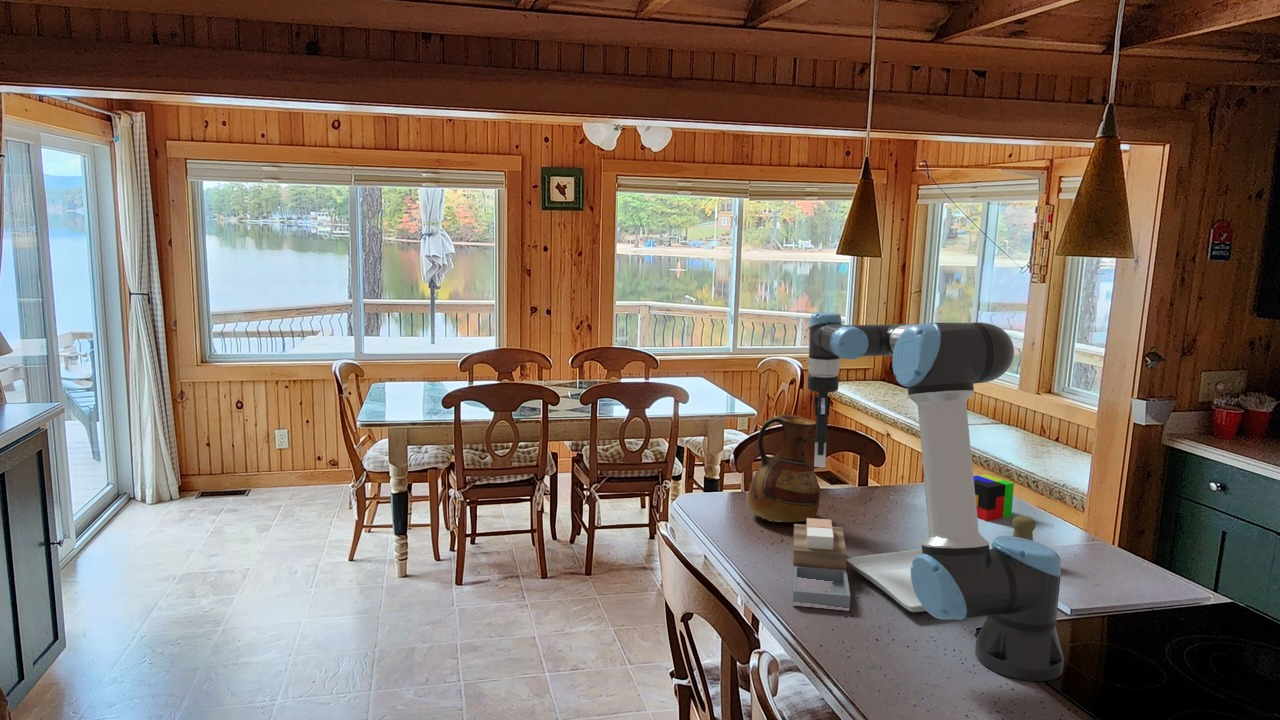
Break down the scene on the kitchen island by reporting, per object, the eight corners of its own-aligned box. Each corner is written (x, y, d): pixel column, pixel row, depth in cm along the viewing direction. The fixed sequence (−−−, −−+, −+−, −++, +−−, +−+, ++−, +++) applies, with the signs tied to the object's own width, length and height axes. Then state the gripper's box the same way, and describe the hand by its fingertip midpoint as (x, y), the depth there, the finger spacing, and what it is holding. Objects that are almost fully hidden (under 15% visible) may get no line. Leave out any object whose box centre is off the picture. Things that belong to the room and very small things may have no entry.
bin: (849, 611, 173) (850, 595, 172) (792, 606, 175) (793, 591, 175) (845, 584, 187) (846, 570, 186) (792, 580, 189) (793, 566, 188)
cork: (1037, 565, 198) (1040, 522, 197) (1011, 563, 199) (1014, 520, 198) (1030, 555, 204) (1034, 514, 203) (1005, 554, 205) (1008, 512, 204)
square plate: (908, 623, 169) (909, 605, 168) (842, 571, 195) (843, 556, 194) (1017, 608, 176) (1019, 591, 175) (940, 560, 202) (940, 545, 201)
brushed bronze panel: (845, 582, 188) (846, 553, 187) (792, 578, 190) (793, 550, 189) (841, 553, 205) (842, 527, 204) (793, 550, 207) (794, 523, 206)
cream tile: (833, 549, 189) (833, 537, 189) (806, 547, 190) (807, 535, 190) (831, 540, 195) (832, 528, 194) (806, 538, 196) (806, 526, 196)
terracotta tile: (831, 539, 195) (832, 527, 195) (806, 538, 196) (806, 526, 196) (830, 531, 201) (831, 519, 201) (806, 529, 202) (806, 518, 202)
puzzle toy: (959, 510, 238) (961, 478, 237) (983, 506, 243) (985, 474, 241) (986, 521, 229) (988, 487, 228) (1011, 516, 234) (1013, 483, 232)
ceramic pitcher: (820, 532, 220) (824, 425, 216) (745, 527, 223) (748, 421, 219) (817, 509, 239) (821, 410, 235) (748, 505, 242) (751, 407, 238)
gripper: (807, 370, 209) (804, 458, 212) (808, 378, 196) (805, 472, 199) (837, 371, 207) (833, 460, 211) (840, 379, 195) (836, 474, 198)
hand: (819, 466), depth 205 cm, fingers closed
